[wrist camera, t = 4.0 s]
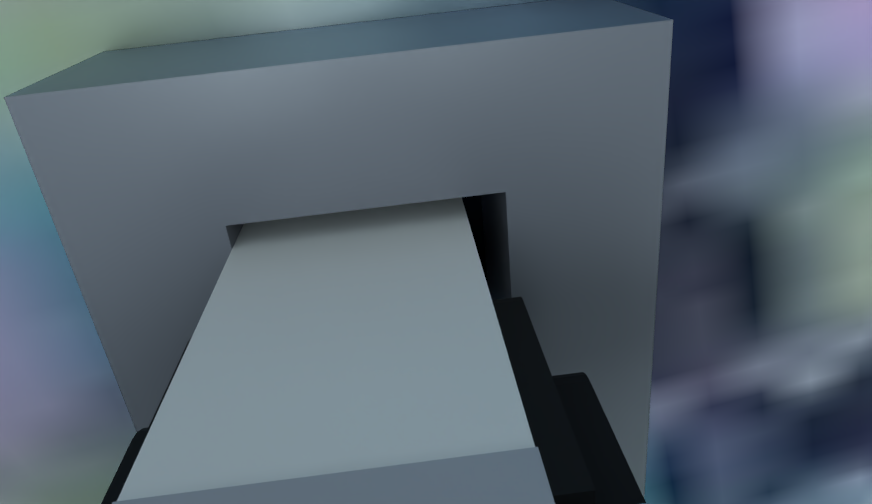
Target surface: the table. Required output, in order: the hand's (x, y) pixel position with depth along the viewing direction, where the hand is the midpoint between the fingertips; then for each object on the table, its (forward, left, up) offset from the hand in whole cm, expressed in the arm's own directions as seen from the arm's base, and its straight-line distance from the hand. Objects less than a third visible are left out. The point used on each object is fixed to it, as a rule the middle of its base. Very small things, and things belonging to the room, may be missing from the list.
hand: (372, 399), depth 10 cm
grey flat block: (0, 0, -4) cm, 4 cm away
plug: (0, 0, -4) cm, 4 cm away
